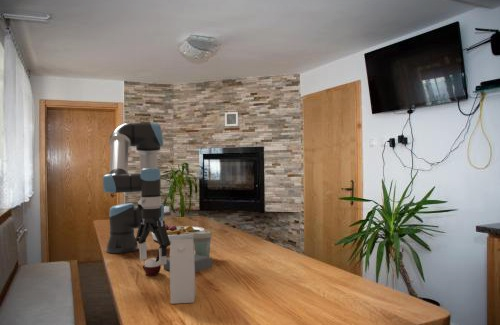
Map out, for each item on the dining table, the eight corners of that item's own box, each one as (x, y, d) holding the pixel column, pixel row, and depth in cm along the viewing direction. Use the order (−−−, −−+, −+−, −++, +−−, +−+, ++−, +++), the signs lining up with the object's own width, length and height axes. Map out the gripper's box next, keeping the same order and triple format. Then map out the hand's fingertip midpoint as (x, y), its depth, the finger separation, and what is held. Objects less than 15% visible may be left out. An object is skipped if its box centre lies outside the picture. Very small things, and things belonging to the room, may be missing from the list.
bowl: (215, 236, 228) (214, 223, 228) (180, 246, 202) (179, 231, 202) (177, 232, 244) (177, 220, 244) (140, 241, 218) (140, 227, 218)
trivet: (163, 269, 158) (163, 258, 158) (190, 262, 168) (190, 252, 168) (184, 275, 149) (184, 264, 149) (211, 267, 159) (211, 257, 159)
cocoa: (140, 275, 152) (138, 244, 152) (154, 271, 156) (152, 241, 156) (153, 278, 145) (150, 247, 145) (167, 274, 150) (164, 243, 150)
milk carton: (173, 296, 125) (171, 238, 125) (195, 295, 126) (194, 237, 126) (170, 304, 118) (169, 242, 118) (194, 303, 119) (192, 241, 119)
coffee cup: (208, 261, 169) (208, 234, 169) (190, 261, 170) (189, 233, 170) (214, 256, 177) (213, 230, 177) (196, 256, 179) (196, 230, 179)
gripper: (126, 206, 157) (127, 259, 156) (162, 210, 140) (163, 268, 139) (142, 205, 162) (143, 255, 162) (178, 208, 145) (180, 264, 145)
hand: (152, 262), depth 151 cm, fingers open, 13 cm apart
